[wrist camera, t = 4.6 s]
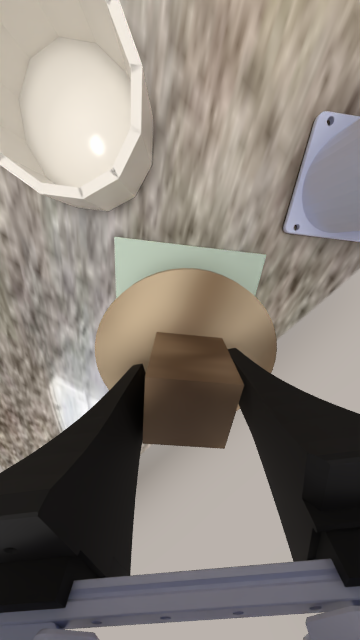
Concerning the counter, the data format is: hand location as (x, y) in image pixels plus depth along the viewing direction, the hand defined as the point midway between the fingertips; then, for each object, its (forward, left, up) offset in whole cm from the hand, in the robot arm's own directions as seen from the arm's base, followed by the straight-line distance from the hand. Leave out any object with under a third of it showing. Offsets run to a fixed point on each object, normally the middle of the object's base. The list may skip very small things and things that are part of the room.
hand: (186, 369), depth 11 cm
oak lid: (0, 0, -2) cm, 2 cm away
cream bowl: (+9, -14, -9) cm, 19 cm away
